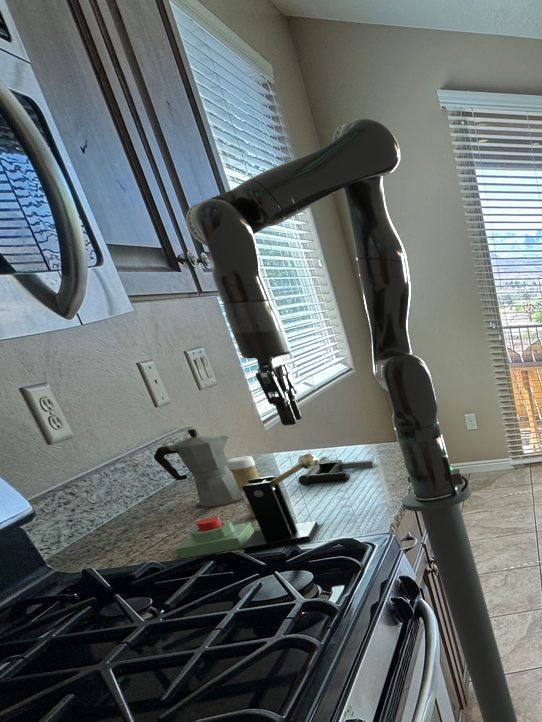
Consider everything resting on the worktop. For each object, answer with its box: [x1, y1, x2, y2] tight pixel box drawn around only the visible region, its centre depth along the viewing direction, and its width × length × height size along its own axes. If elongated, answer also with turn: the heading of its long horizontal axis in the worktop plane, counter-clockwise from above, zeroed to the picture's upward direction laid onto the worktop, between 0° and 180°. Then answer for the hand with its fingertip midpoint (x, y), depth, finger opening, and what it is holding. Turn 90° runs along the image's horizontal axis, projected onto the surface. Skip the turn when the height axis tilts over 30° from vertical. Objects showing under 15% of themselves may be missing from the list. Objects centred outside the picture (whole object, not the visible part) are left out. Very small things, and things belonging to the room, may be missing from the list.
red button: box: [195, 516, 222, 531], centre depth 113 cm, size 4×4×2 cm
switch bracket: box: [242, 474, 319, 554], centre depth 114 cm, size 11×9×13 cm
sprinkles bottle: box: [226, 455, 261, 519], centre depth 127 cm, size 5×5×14 cm
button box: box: [175, 520, 255, 560], centre depth 115 cm, size 10×9×4 cm
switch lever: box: [260, 452, 318, 490], centre depth 112 cm, size 13×3×3 cm, turn 114°
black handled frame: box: [296, 456, 375, 487], centre depth 155 cm, size 3×20×16 cm
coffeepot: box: [153, 428, 243, 508], centre depth 136 cm, size 15×9×18 cm, turn 158°
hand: (292, 421), depth 109 cm, fingers open, 4 cm apart
